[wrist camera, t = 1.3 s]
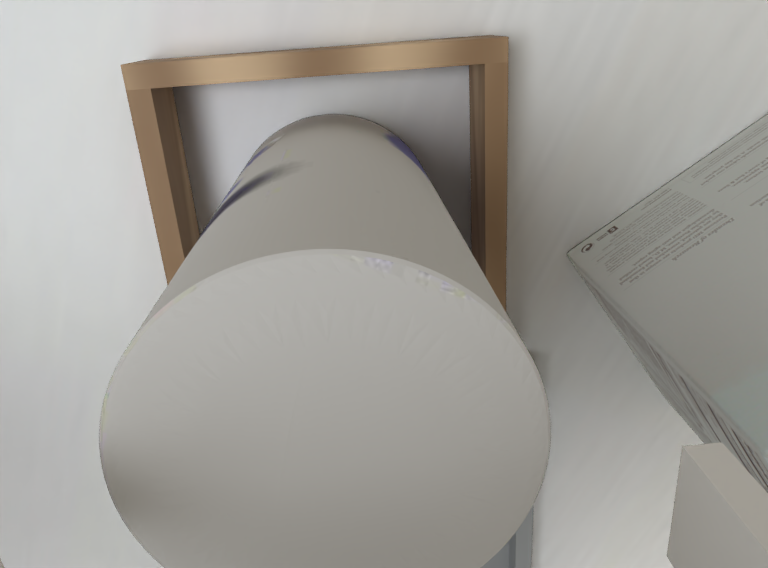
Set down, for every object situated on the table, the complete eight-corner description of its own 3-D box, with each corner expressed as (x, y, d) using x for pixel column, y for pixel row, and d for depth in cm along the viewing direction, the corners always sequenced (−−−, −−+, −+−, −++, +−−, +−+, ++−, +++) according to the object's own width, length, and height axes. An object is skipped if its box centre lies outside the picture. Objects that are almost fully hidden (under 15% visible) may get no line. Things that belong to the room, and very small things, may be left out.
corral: (205, 364, 35) (191, 398, 32) (144, 60, 29) (120, 64, 26) (490, 338, 36) (505, 370, 33) (490, 35, 30) (508, 36, 26)
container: (234, 107, 30) (67, 242, 12) (441, 119, 31) (592, 263, 12) (238, 299, 34) (118, 631, 15) (423, 305, 35) (518, 626, 16)
